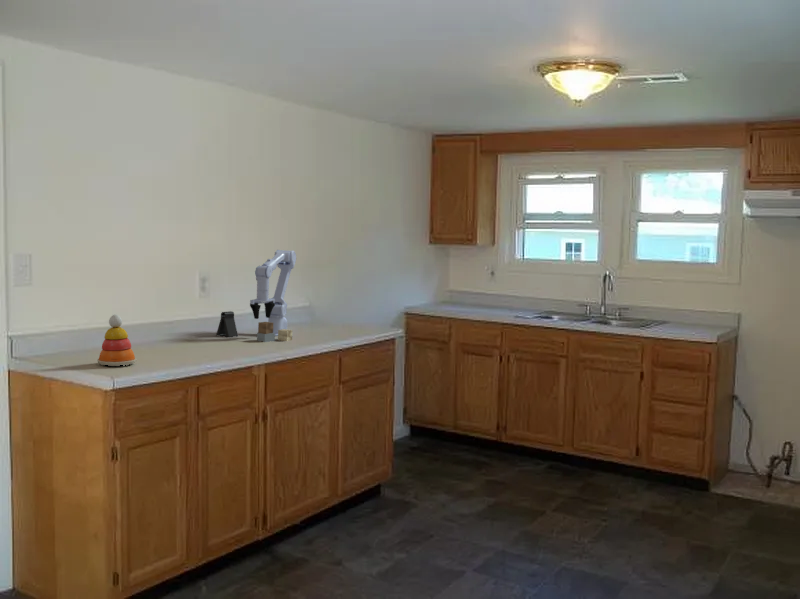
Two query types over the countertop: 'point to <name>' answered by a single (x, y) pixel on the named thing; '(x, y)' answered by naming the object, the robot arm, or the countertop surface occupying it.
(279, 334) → the maple cube
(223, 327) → the phone stand
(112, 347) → the stacking toy
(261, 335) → the grey base block
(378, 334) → the countertop surface
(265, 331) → the walnut cube
